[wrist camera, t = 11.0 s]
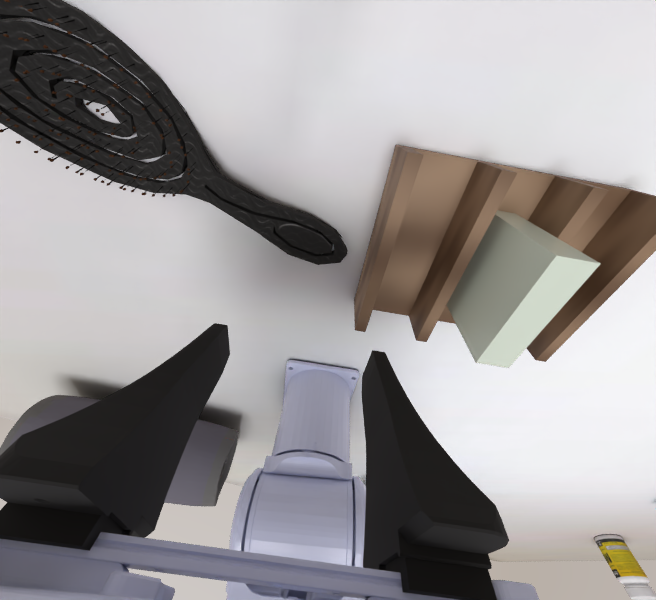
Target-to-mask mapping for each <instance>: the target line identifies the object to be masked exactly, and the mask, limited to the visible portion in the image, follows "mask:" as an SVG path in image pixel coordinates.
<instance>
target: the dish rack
mask: <svg viewBox="0 0 656 600" xmlns="http://www.w3.org/2000/svg"><path fill="white" fill-rule="evenodd" d="M497 210H499V211H504V212H510V213H515V214H517V215H519V216H521V217H522V218H524V219H526V220H527V221H529V222H531V223H532V224H534V225H536V226H538V227H539V228H541V229H543V230H544V231H546V232H548V233H550V234H551V235H553V236H555V237H556V238H558V239H560V240H561V241H563V242H565V243H567V244H568V245H570V246H572V247H573V248H575V249H577V250H579V251H580V252H582V253H584V254H585V255H587V256H589V257H590V258H592V259H594V260H596V261H597V262H599V263H601V264H600V265H599V266H598V268H597V269H596V270H595V271H594V272H593V273H592V274H591V275H590V277H589V278H588V279H587V280H586V281H585V282H584V283H583V285H582V286H581V287H580V288H579V289H578V290H577V291H576V292H575V294H574V295H573V296H572V297H571V298H570V299H569V300H568V301H567V303H566V304H565V305H564V306H563V307H562V308H561V309H560V311H559V312H558V313H557V314H556V315H555V316H554V317H553V318H552V320H551V321H550V322H549V323H548V324H547V325H546V326H545V328H544V329H543V330H542V331H541V332H540V333H539V334H538V335H537V337H536V338H535V339H534V340H533V341H532V342H531V343H530V345H529V346H528V347H527V349H528V351H529V352H530V353H531V355H532V356H533V357H534V359H535V360H539V361H545V362H546V361H547V360H548V359H549V358H550V357H551V356H552V355H553V354H554V353H555V352H556V350H557V349H558V348H559V347H560V346H561V345H562V344H563V343H564V342H565V341H566V340H567V339H568V338H569V337H570V336H571V335H572V334H573V333H574V332H575V331H576V330H577V329H578V328H579V327H580V326H581V325H582V324H583V323H584V322H585V321H586V320H587V319H588V318H589V317H590V316H591V315H592V314H593V313H594V312H595V311H596V310H597V309H598V308H599V307H600V306H601V305H602V304H603V303H604V302H605V301H606V300H607V299H608V298H609V297H610V296H611V295H612V294H613V293H614V292H615V291H616V290H617V289H618V288H619V287H620V286H621V285H622V284H623V283H624V282H625V281H626V280H627V279H628V278H629V277H630V276H631V275H632V274H633V273H634V272H635V271H636V270H637V269H638V268H639V267H640V266H641V265H642V264H643V263H644V262H645V261H646V260H647V259H648V258H649V257H650V256H651V255H652V254H653V253H654V252H655V251H656V196H654V195H650V194H646V193H642V192H638V191H634V190H631V189H626V188H621V187H615V186H610V185H605V184H600V183H594V182H589V181H584V180H579V179H574V178H568V177H563V176H558V175H553V174H547V173H542V172H537V171H532V170H526V169H521V168H516V167H511V166H505V165H500V164H495V163H490V162H484V161H479V160H474V159H469V158H463V157H458V156H453V155H448V154H442V153H437V152H432V151H427V150H421V149H416V148H411V147H406V146H401V145H396V146H395V150H394V154H393V157H392V161H391V165H390V169H389V172H388V176H387V180H386V184H385V187H384V191H383V195H382V198H381V202H380V206H379V210H378V213H377V217H376V221H375V225H374V228H373V232H372V236H371V239H370V243H369V247H368V251H367V254H366V258H365V262H364V265H363V269H362V273H361V277H360V280H359V284H358V288H357V292H356V295H355V299H354V310H355V330H357V331H363V332H365V331H366V328H367V325H368V322H369V319H370V316H371V313H372V310H378V311H384V312H390V313H396V314H402V315H408V316H409V318H410V321H411V324H412V328H413V331H414V335H415V338H416V340H417V341H423V342H427V340H428V338H429V336H430V334H431V332H432V330H433V329H434V327H435V325H436V323H437V321H443V322H449V323H455V321H454V319H453V317H452V315H451V313H450V311H449V309H448V307H447V303H448V301H449V299H450V297H451V295H452V293H453V292H454V290H455V288H456V286H457V284H458V282H459V280H460V279H461V277H462V275H463V273H464V271H465V269H466V268H467V266H468V264H469V262H470V260H471V258H472V256H473V255H474V253H475V251H476V249H477V247H478V245H479V243H480V242H481V240H482V238H483V236H484V234H485V232H486V231H487V229H488V227H489V225H490V223H491V221H492V219H493V218H494V216H495V214H496V212H497ZM455 324H456V323H455Z"/></svg>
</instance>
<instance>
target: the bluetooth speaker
mask: <svg viewBox="0 0 656 600" xmlns="http://www.w3.org/2000/svg"><path fill="white" fill-rule="evenodd" d="M100 400H101V399H99V400H98V399H92V398H85V397H77V396H64V395H55V396H51V397H48V398H45V399H43V400H41V401H39V402H38V403H36V404H35V405H33V406H32V407H31V408H29V409H28V410H27V411H26V412H25V413H24V414H23V415H22V416H21V417H20V419H19V420H18V421H17V423H16V424H15V425H14V426H13V428H12V429H11V431H10V432H9V433H8V435H7V437H6V438H5V440H4V442H3V444H2V446H1V448H0V455H1V454H2V453H3V452H4V451H5V450H6V449H7V448H8V447H9V446H10V445H12V444H13V443H14V442H15V441H16V440H17V439H18V438H19V437H20V436H21V435H23V434H26V433H28V432H31V431H33V430H36V429H38V428H40V427H43V426H45V425H48V424H50V423H52V422H55V421H57V420H59V419H62V418H64V417H66V416H69V415H71V414H73V413H75V412H77V411H79V410H82V409H84V408H86V407H88V406H90V405H92V404H94V403H96V402H98V401H100ZM238 432H239V431H236V430H234V429H231V428H228V427H225V426H222V425H218V424H214V423H211V422H207V421H204V420H200V419H199V418H198V420H197V422H196V424H195V426H194V428H193V431H192V433H191V435H190V438H189V440H188V442H187V445H186V447H185V449H184V452H183V454H182V457H181V459H180V462H179V464H178V467H177V469H176V472H175V475H174V477H173V480H172V482H171V485H170V488H169V490H168V493H167V496H166V498H165V501H164V503H173V504H182V505H190V506H216V503H217V500H218V496H219V494H220V491H221V489H222V486H223V484H224V482H225V480H226V478H227V476H228V473H229V470H230V467H231V464H232V460H233V457H234V453H235V450H236V446H237V436H238Z"/></svg>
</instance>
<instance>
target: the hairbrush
mask: <svg viewBox="0 0 656 600" xmlns="http://www.w3.org/2000/svg"><path fill="white" fill-rule="evenodd" d="M19 17H28V18H32V19H35V20H38V21H42V22H45V23H48V24H52V25H55V26H57V27H59V28H61V29H63V30H65V31H67V32H68V33H65V32H62V31H59V30H55V29H52V28H49V27H46V26H42V25H39V24H36V23H33V22H23V21H9V20H0V123H1V124H3V125H5V126H6V127H8V128H10V129H11V130H13V131H14V132H16V133H18V134H19V135H21V136H23V137H24V138H26V139H27V140H29V141H31V142H32V143H34V144H36V145H37V146H39V147H40V148H42V149H44V150H46V151H48V152H50V153H52V154H55V156H56V155H57V156H58V157H61V158H63V159H66V160H68V161H70V162H72V163H73V164H77V165H79V166H81V167H83V168H85V169H87V170H90V171H92V172H94V173H96V174H98V175H100V176H103V177H105V178H107V179H109V180H111V182H112V181H114V182H117V183H120V184H124V185H128V186H131V187H135V189H136V188H138V189H142V190H145V192H146V191H149V192H153V193H155V194H156V193H166V194H167V193H169V194H173V196H175V194H187V195H190V196H192V197H195V198H198V199H201V200H203V201H206V202H209V203H211V204H213V205H214V206H216V207H217V208H219V209H221V210H222V211H224V212H225V213H227V214H229V215H230V216H232V217H234V218H235V219H237V220H238V221H240V222H242V223H243V224H245V225H246V226H248V227H250V228H251V229H253V230H254V231H256V232H257V233H259V234H260V235H262V236H263V237H264V238H266V239H267V240H269V241H270V242H271V243H273V244H274V245H276V246H277V247H279V248H280V249H281V250H283V251H284V252H286V253H287V254H289V255H291V256H294V257H297V258H300V259H303V260H306V261H309V262H312V263H315V264H318V265H320V264H330V263H340V262H341V261H342V260H343V258H344V257H345V256H346V255H347V248H346V246H345V244H344V243H343V241H342V240H341V238H340V237H339V236H341V235H340V234H339V233H338V232H337V230H336V229H334V228H332V227H331V226H329V225H327V224H326V223H324V222H322V221H320V220H319V219H317V218H315V217H314V216H312V215H310V214H307V213H304V212H301V211H298V210H295V209H292V208H289V207H286V206H283V205H280V204H277V203H274V202H271V201H268V200H266V199H265V198H263V197H261V196H259V195H257V194H255V193H254V192H252V191H250V190H248V189H246V188H244V187H243V186H241V185H239V184H237V183H235V182H233V181H232V180H230V179H228V178H226V177H224V176H222V174H221V173H220V171H219V170H218V168H217V166H216V165H215V163H214V162H213V160H212V158H211V157H210V155H209V154H208V152H207V150H206V149H205V147H204V145H203V143H202V142H201V140H200V138H199V136H198V134H197V132H196V130H195V128H194V126H193V124H192V122H191V120H190V118H189V117H188V118H189V120H190V121H189V120H188V118H187V116H188V115H187V116H186V115H185V113H184V112H183V110H182V109H181V107H180V105H181V104H180V105H179V104H178V102H179V101H178V100H177V99H175V96H174V95H173V94H172V93H171V91H170V89H169V88H168V87H167V85H166V84H165V83H164V82H163V80H162V79H161V78H160V77H159V76H158V75H157V74H156V73H155V72H154V71H153V70H152V69H151V68H150V67H149V66H148V65H147V64H146V63H145V62H144V61H143V60H142V59H141V58H140V57H139V56H138V55H137V54H136V53H135V52H134V51H133V50H132V49H131V48H130V47H128V46H127V45H126V44H125V43H124V42H123V41H122V40H120V39H119V38H118V37H116V36H115V35H114V34H112V33H111V32H110V31H108V30H107V29H106V28H104V27H103V26H102V25H100V24H99V23H98V22H97V21H95V20H94V19H92V18H91V17H89V16H88V15H87V14H85V13H84V12H83V11H81V10H79V9H77V8H75V7H73V6H71V5H69V4H67V3H65V2H64V1H62V0H0V19H6V18H19ZM70 34H74V35H76V36H78V37H80V38H82V39H84V40H87V41H89V42H91V43H86V42H84V41H83V40H81V39H79V38H77V37H75V36H72V35H70ZM92 44H95V46H96V45H97V46H98V47H99V48H100V49H102V50H103V51H104V52H105V53H107V54H108V56H107V55H105V54H104V53H102V52H100V51H99V50H97V49H96V48H94V47H93V46H92ZM33 52H37V53H51V54H61V55H62V56H63V57H68V58H71V59H73V60H76V61H78V62H81V63H83V64H79V65H78V64H75V63H73V62H70V60H68V59H65V58H61V57H57V56H54V55H45V54H38V55H30V54H31V53H33ZM29 55H30V56H29ZM110 56H111V57H112V58H113V59H114V60H116V61H117V62H118V63H120V64H121V65H122V66H123V67H125V68H126V69H127V70H129V71H130V72H131V73H132V74H134V75H135V76H136V77H138V78H139V79H140V81H143V82H144V84H145V85H146V86H147V87H148V88H149V90H150V91H151V92H152V93H153V94H152V93H151V92H150V91H149V90H148V89H147V88H146V87H145V86H144V85H143V84H142V83H141V82H140V81H139V80H138V79H137V78H136V77H134V76H133V75H132V74H131V73H129V72H128V71H127V70H126V69H125V68H123V67H122V66H121V65H119V64H118V63H117V62H116V61H114V60H113V59H112V58H110ZM85 64H86V65H89V66H91V67H94V68H95V69H97V70H98V71H100V72H101V73H103V74H104V75H105V76H107V77H108V78H110V79H111V80H112V81H114V82H115V83H117V84H115V83H114V82H112V81H111V80H109V79H107V78H106V77H104V76H103V75H101V74H100V73H98V72H96V71H94V70H92V69H90V68H89V67H87V68H86V67H83V66H84V65H85ZM63 79H75V80H77V81H74V82H75V83H73V82H65V81H63ZM79 81H80V82H82V83H84V85H83V84H79ZM85 84H86V85H85ZM118 85H120V86H121V87H122V88H121V87H120V86H118ZM87 86H90V87H93V88H95V89H97V90H99V91H101V92H103V93H105V94H107V95H105V94H103V93H101V92H99V91H97V90H95V89H92V88H90V87H87ZM123 88H124V89H125V90H124V89H123ZM126 90H127V91H128V92H129V93H128V92H127V91H126ZM130 93H131V94H132V95H134V96H135V97H136V98H138V99H139V100H141V101H142V102H143V103H144V105H143V104H142V103H141V102H140V101H138V100H137V99H136V98H135V97H133V96H132V95H131V94H130ZM108 95H109V96H108ZM110 96H111V97H110ZM112 97H113V98H115V99H116V100H117V101H118V102H119V103H120V104H121V105H122V106H123V107H124V108H123V107H122V106H121V105H120V104H119V103H118V102H117V101H115V99H113V98H112ZM83 99H84V100H88V101H91V102H89V103H88V102H87V103H86V105H89V104H90V103H92V102H96V103H99V104H103V105H106V106H107V107H108V108H109V109H110V111H111V112H112V113H113V114H114V116H115V117H116V118H117V119H118V121H119V122H120V123H121V124H115V123H112V122H108V121H105V120H101V119H99V118H98V117H96V115H94V114H92V113H91V112H90V111H88V110H87V109H86V107H85V108H84V107H83V106H82V105H81V101H82V103H83ZM176 100H177V101H178V102H177V101H176ZM83 105H84V104H83ZM84 106H85V105H84ZM106 106H105V107H106ZM181 106H182V105H181ZM182 107H183V106H182ZM103 108H104V107H103ZM125 108H126V109H127V110H128V111H129V112H130V113H131V114H130V113H129V112H128V111H127V110H126V109H125ZM101 109H102V108H101ZM183 109H184V107H183ZM184 110H185V109H184ZM96 112H100V111H99V109H96ZM185 112H186V111H185ZM106 113H107V112H106ZM104 114H105V113H101V115H102V116H104ZM186 114H187V113H186ZM72 118H73V119H72ZM74 119H75V120H74ZM76 120H77V121H76ZM78 121H79V122H78ZM80 122H81V123H80ZM190 122H191V123H190ZM89 126H90V127H89ZM91 127H92V128H93V129H92V128H91ZM8 128H6V129H8ZM6 129H4V130H6ZM162 129H163V130H162ZM4 130H2V129H1V130H0V132H4ZM99 131H100V132H99ZM70 132H71V133H70ZM102 132H104V133H108V134H111V135H116V136H120V137H129V136H131V135H132V134H133V133H135V132H137V136H138V137H135V138H132V139H129V140H127V139H118V138H113V137H111V136H110V135H107V134H104V133H102ZM72 133H73V134H72ZM76 135H77V136H76ZM87 140H88V141H87ZM20 142H21V141H16V143H18V144H19V143H20ZM100 146H101V147H100ZM102 147H103V148H102ZM104 148H106V149H104ZM107 149H109V150H112V151H114V152H115V153H114V152H111V151H109V150H107ZM166 149H167V154H166V155H164V154H165V151H166ZM40 150H41V149H40ZM116 152H117V153H116ZM34 153H38V151H34ZM118 153H120V154H123V156H120V155H118ZM124 155H126V156H128V157H131V158H134V159H137V160H134V159H130V158H126V157H125V156H124ZM162 155H164V156H163V157H161V158H160V159H158V160H156V161H153V162H149V163H145V162H141V161H138V160H143V159H151V158H155V157H158V156H162ZM58 157H56V158H58ZM52 158H53V157H52ZM56 158H54V159H51V158H48V160H50V161H51V162H53V161H54V160H55V159H56ZM70 166H71V165H70ZM68 168H69V166H67V167H66V169H68ZM83 168H82V169H83ZM115 168H116V169H115ZM82 169H80V170H82ZM117 169H120V170H123V171H120V170H117ZM80 170H78V171H76V172H75V173H78V172H79V171H80ZM87 170H86V171H87ZM86 171H85V172H86ZM124 171H126V172H129V173H132V174H135V175H137V176H134V175H131V174H128V173H125V172H124ZM184 171H185V172H184ZM183 172H184V174H183V175H182V177H181V178H178V179H175V180H172V181H171V180H168V181H169V182H164V181H159V180H154V179H157V178H158V179H170V178H172V177H176V175H178V174H179V175H180V173H181V174H182V173H183ZM80 175H84V173H80ZM138 175H139V176H142V177H138ZM179 175H178V176H179ZM100 176H99V177H100ZM99 177H97V178H99ZM143 177H146V178H143ZM97 178H94V180H95V181H96V180H97ZM149 178H153V179H149ZM105 180H106V179H105ZM101 182H102V183H104V181H103V180H102V181H101ZM111 182H110V183H111ZM110 183H107V186H108V185H110ZM124 185H123V186H124ZM123 186H121V187H120V189H122V188H123ZM128 186H127V187H128ZM135 189H133V190H131V192H134V190H135ZM123 190H126V188H124V189H123ZM145 192H144V193H142V195H146V193H145ZM155 194H153V195H152V196H155ZM166 194H164V195H163V197H165V195H166ZM341 237H342V236H341ZM332 243H333V244H334V251H332V245H333V244H332ZM331 251H332V252H331Z"/></svg>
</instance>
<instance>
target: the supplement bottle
mask: <svg viewBox="0 0 656 600" xmlns="http://www.w3.org/2000/svg"><path fill="white" fill-rule="evenodd" d="M594 540H595V542H596V543H597V545H598V547H599V549H600V550H601V552H602V554H603V556H604V557H605V559H606V561H607V563H608V564H609V566H610V568H611V569H612V571H613V573H614V575H615V576H616V578H617V580H618V581H619V582H620V583H622V584H624V585H625V587H624V588H625V590H626V592H627V593H628V595H629V597H630V598H631V599H635V600H655V599H656V594H655V592H654V591H653V589H652V588H651V587H650V586H648V583H649V579H648V578H647V576H646V574H645V573H644V572H643V570H642V568H641V567H640V565H639V564H638V562H637V560H636V559H635V557H634V556H633V554H632V553H631V551H630V549H629V548H628V546H627V545H626V543H625V542H624V540H623V539H622V537H620V536H618V535H600V536H597V537H595V538H594Z"/></svg>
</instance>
